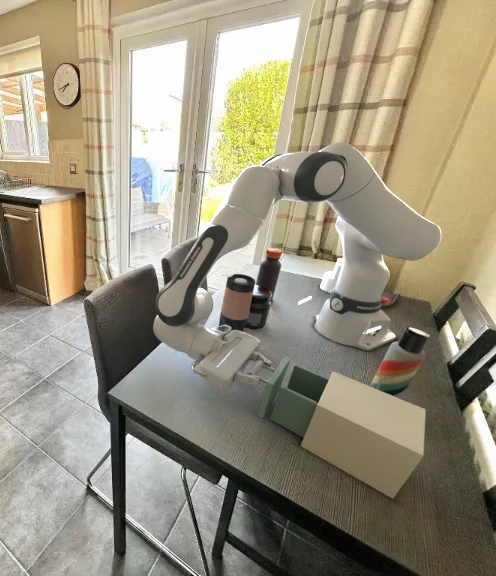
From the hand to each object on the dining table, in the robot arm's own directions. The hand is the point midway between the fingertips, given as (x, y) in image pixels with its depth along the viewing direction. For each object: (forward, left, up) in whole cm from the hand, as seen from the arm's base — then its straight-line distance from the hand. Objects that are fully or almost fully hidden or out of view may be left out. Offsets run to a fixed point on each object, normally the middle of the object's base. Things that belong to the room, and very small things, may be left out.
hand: (265, 374), depth 69 cm
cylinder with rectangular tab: (-68, -44, -8) cm, 81 cm away
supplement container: (-19, -30, -8) cm, 36 cm away
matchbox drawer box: (-10, +15, -8) cm, 20 cm away
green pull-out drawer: (-3, +5, -7) cm, 9 cm away
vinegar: (-34, -43, -8) cm, 55 cm away
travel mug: (-8, -24, -8) cm, 27 cm away
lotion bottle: (-29, +7, -8) cm, 30 cm away
